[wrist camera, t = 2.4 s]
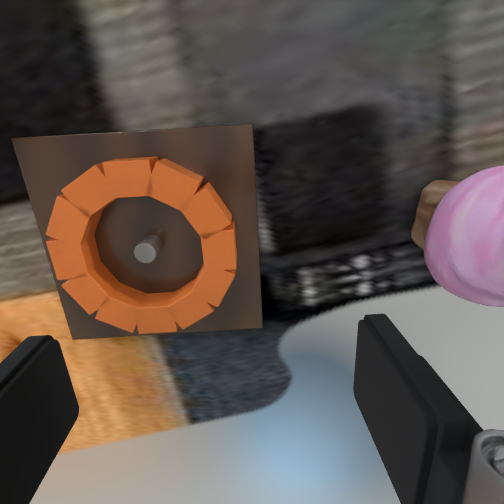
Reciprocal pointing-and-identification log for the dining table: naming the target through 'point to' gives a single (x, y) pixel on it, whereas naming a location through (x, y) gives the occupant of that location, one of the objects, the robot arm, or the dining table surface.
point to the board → (154, 217)
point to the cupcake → (465, 235)
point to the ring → (103, 281)
